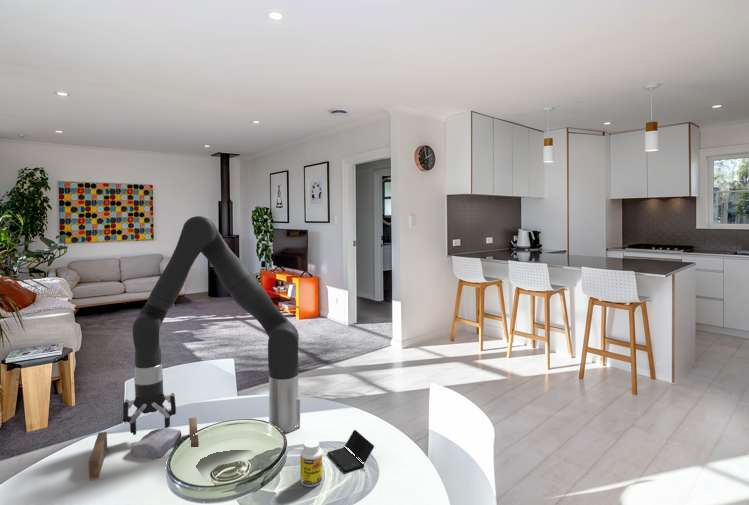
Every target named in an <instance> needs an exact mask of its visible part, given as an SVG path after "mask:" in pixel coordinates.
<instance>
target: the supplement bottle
mask: <svg viewBox="0 0 749 505" xmlns="http://www.w3.org/2000/svg"><path fill="white" fill-rule="evenodd" d="M299 459H300V462H299V463H300V467H299V468H300V469H299V470H300V474H299V475H300V476H299V477H300V479H299V481H300V484H301V485H303V486H304V487H307V488H308V487H309V488H313V487H316V486H318V485H320V484H321V482H322V480H323V450H322V449H321V447H320V442H319V441H318V440H317V439H309V440H306V441H304V442H303V448H302V450H301V451H300V458H299Z"/></svg>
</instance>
